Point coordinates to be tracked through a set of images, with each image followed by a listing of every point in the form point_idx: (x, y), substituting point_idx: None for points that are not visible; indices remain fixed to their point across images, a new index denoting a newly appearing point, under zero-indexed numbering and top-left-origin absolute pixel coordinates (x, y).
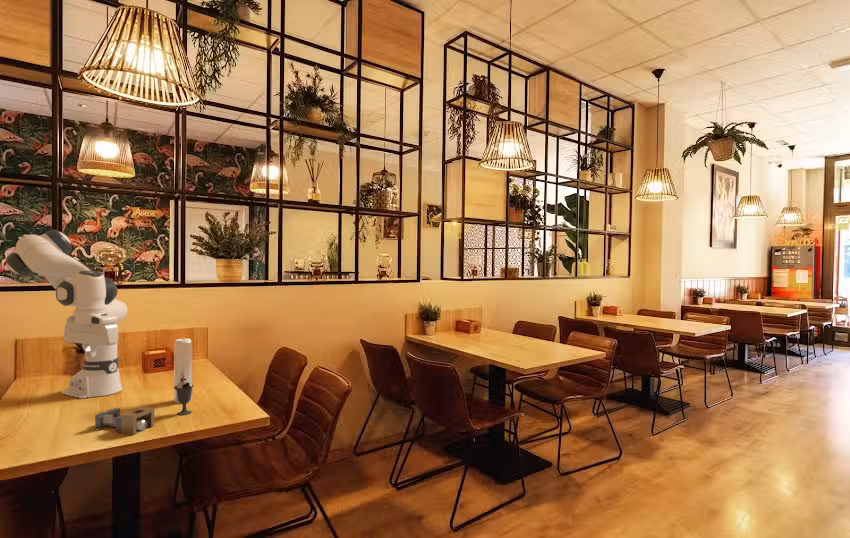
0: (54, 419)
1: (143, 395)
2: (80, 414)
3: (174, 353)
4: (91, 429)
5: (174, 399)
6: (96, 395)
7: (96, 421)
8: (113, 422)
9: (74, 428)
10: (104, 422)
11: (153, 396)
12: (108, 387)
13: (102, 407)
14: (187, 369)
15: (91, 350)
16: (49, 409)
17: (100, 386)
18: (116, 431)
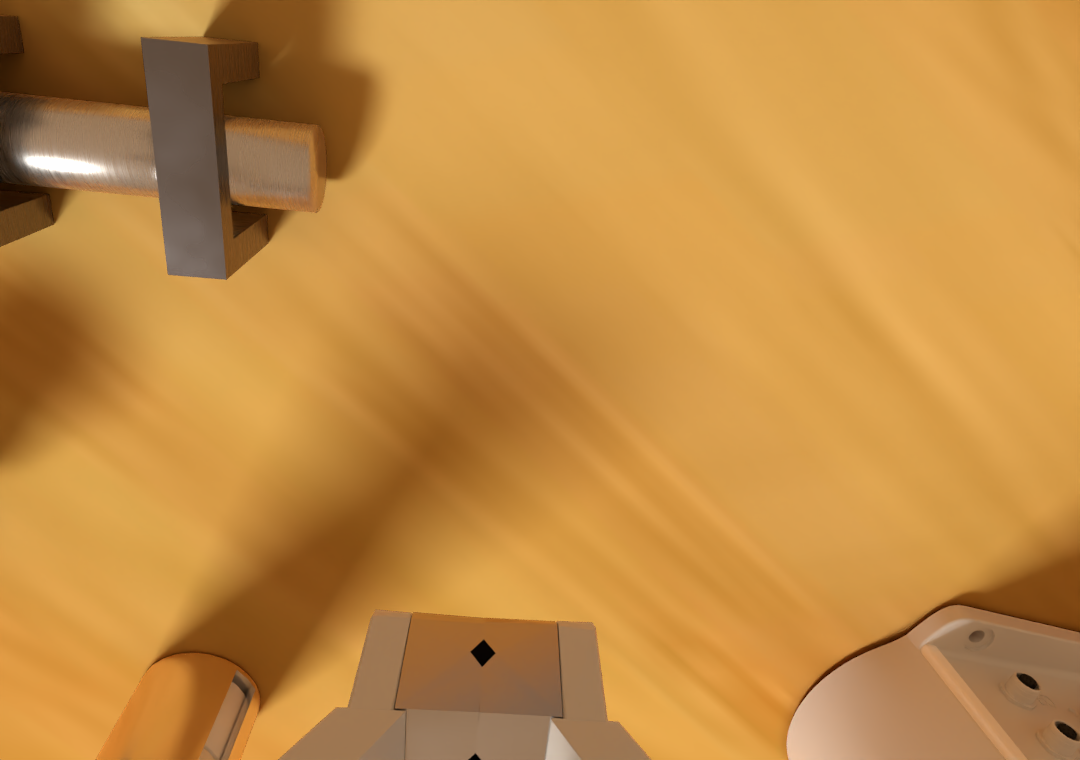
0: (817, 202)
1: None
2: (699, 339)
3: None
4: (302, 47)
5: (226, 679)
6: (874, 657)
7: (216, 42)
8: (109, 108)
9: (469, 40)
10: None
11: None
12: (838, 740)
13: (657, 493)
14: None
15: (319, 744)
16: (1027, 386)
17: (886, 726)
18: (5, 16)
